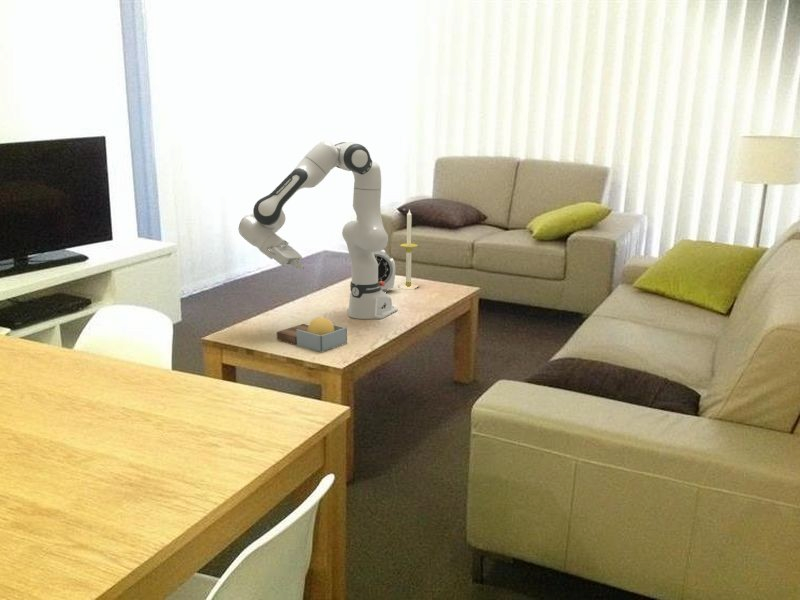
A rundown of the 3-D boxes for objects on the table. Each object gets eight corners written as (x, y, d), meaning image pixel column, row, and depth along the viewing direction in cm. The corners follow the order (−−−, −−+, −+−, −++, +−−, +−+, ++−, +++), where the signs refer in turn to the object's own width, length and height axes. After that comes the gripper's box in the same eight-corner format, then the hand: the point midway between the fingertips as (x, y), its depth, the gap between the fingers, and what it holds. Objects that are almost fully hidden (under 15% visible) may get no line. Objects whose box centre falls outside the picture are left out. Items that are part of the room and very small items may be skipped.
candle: (421, 288, 381) (422, 210, 372) (401, 289, 379) (402, 210, 369) (415, 283, 391) (416, 206, 381) (395, 285, 388) (396, 207, 378)
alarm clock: (356, 293, 371) (355, 250, 366) (356, 289, 380) (356, 246, 374) (395, 293, 371) (395, 250, 366) (395, 289, 380) (395, 247, 374)
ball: (338, 315, 296) (341, 343, 296) (322, 317, 304) (324, 344, 303) (316, 317, 289) (319, 345, 289) (300, 319, 297) (303, 346, 297)
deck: (303, 331, 314) (303, 323, 313) (322, 336, 308) (321, 328, 307) (276, 339, 304) (276, 332, 303) (295, 345, 298) (295, 337, 297)
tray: (322, 336, 308) (322, 321, 306) (346, 343, 300) (346, 327, 299) (296, 345, 298) (296, 329, 296) (321, 352, 290) (321, 336, 288)
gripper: (269, 240, 298) (299, 262, 296) (287, 240, 318) (314, 261, 316) (260, 254, 299) (289, 276, 297) (278, 253, 319) (305, 274, 317)
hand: (302, 268), depth 307 cm, fingers closed
